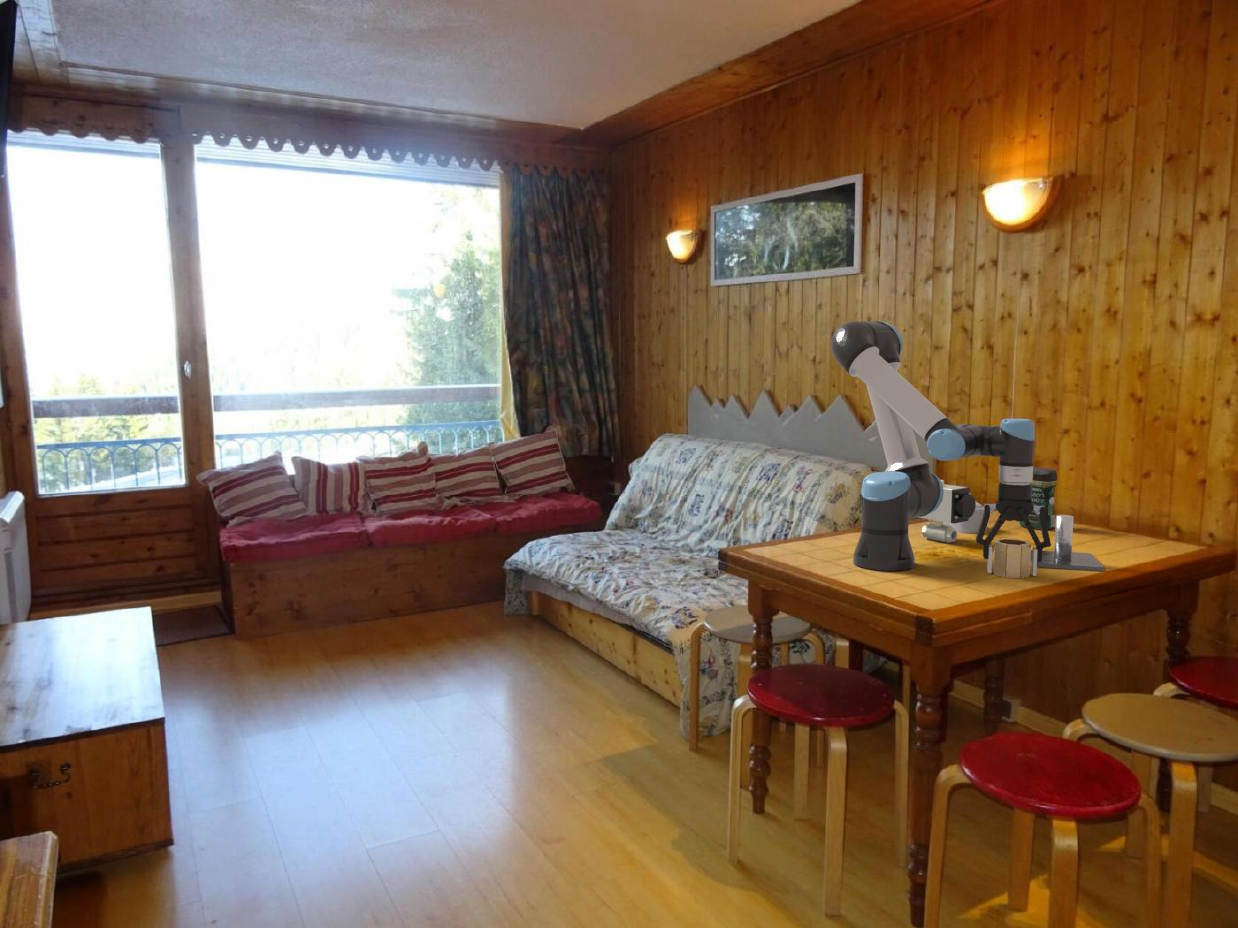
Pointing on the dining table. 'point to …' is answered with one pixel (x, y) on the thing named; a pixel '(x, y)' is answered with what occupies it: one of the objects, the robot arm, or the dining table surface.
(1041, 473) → the coffee jar
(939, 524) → the ball valve
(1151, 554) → the dining table surface
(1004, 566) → the ring
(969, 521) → the grey paw print block
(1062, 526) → the pipe stub
